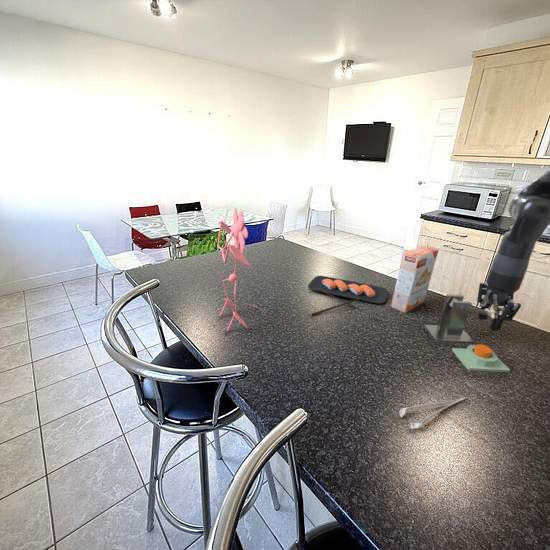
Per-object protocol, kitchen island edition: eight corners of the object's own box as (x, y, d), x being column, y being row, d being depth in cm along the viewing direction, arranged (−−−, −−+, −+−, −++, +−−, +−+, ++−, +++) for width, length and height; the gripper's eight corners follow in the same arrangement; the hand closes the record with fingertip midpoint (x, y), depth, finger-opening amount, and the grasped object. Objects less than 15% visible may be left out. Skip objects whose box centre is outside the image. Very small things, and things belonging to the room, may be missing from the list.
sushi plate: (388, 292, 114) (389, 283, 112) (378, 332, 89) (380, 321, 87) (316, 278, 125) (317, 270, 123) (290, 310, 100) (290, 300, 98)
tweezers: (414, 432, 57) (417, 424, 56) (397, 413, 61) (399, 406, 60) (473, 410, 64) (476, 403, 63) (454, 395, 68) (456, 388, 67)
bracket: (458, 329, 91) (470, 293, 86) (473, 345, 84) (487, 306, 79) (423, 328, 91) (432, 291, 86) (434, 343, 84) (446, 304, 79)
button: (484, 349, 77) (486, 344, 76) (493, 359, 73) (495, 353, 73) (470, 349, 77) (472, 343, 76) (478, 358, 74) (480, 352, 73)
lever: (486, 314, 87) (491, 307, 86) (497, 323, 82) (502, 316, 81) (446, 302, 86) (450, 295, 85) (455, 310, 81) (459, 303, 80)
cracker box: (406, 316, 98) (419, 257, 90) (389, 308, 102) (401, 252, 94) (425, 303, 106) (439, 249, 98) (409, 297, 110) (422, 244, 102)
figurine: (231, 348, 80) (226, 221, 66) (212, 305, 102) (204, 203, 88) (282, 336, 86) (287, 217, 72) (253, 297, 107) (253, 200, 93)
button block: (487, 354, 80) (492, 344, 79) (508, 375, 73) (512, 364, 71) (450, 353, 80) (454, 342, 79) (467, 373, 73) (471, 362, 71)
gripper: (543, 282, 72) (518, 339, 79) (503, 261, 85) (485, 312, 92) (512, 280, 72) (490, 338, 79) (477, 260, 85) (461, 311, 92)
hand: (487, 323), depth 85 cm, fingers closed on lever, 5 cm apart
